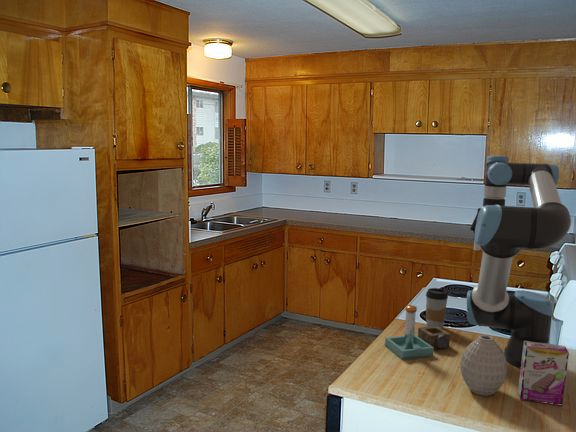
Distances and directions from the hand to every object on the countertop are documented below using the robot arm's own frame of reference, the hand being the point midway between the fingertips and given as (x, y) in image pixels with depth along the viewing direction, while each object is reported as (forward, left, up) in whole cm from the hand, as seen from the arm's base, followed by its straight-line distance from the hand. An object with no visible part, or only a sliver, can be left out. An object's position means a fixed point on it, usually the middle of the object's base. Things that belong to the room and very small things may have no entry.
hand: (489, 253), depth 191 cm
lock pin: (-7, +37, -31) cm, 48 cm away
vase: (-38, +31, -32) cm, 58 cm away
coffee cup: (+10, +15, -32) cm, 36 cm away
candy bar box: (-47, +18, -32) cm, 59 cm away
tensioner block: (-4, +25, -31) cm, 40 cm away
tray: (-7, +37, -31) cm, 49 cm away
